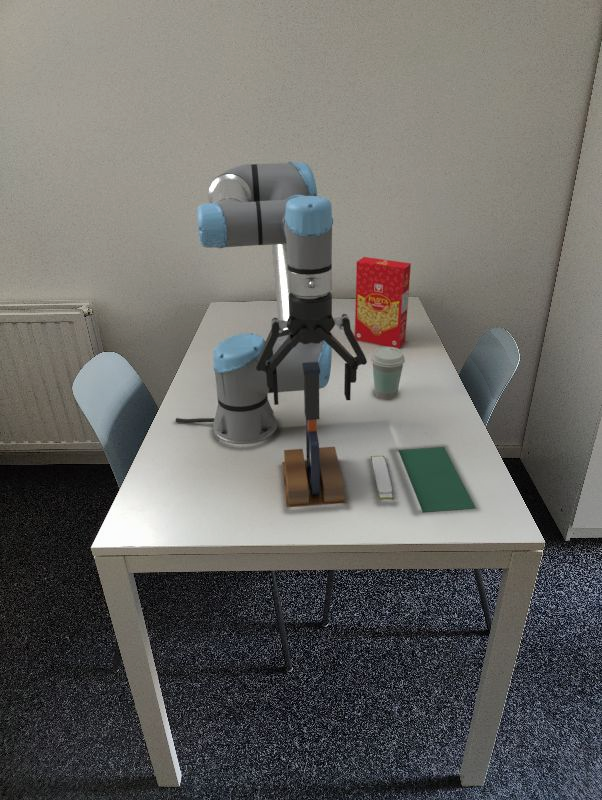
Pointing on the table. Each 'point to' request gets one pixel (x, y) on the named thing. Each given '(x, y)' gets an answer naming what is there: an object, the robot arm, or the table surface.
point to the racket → (312, 423)
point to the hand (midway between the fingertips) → (311, 399)
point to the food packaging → (381, 301)
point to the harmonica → (382, 478)
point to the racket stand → (299, 480)
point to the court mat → (435, 480)
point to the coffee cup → (387, 371)
